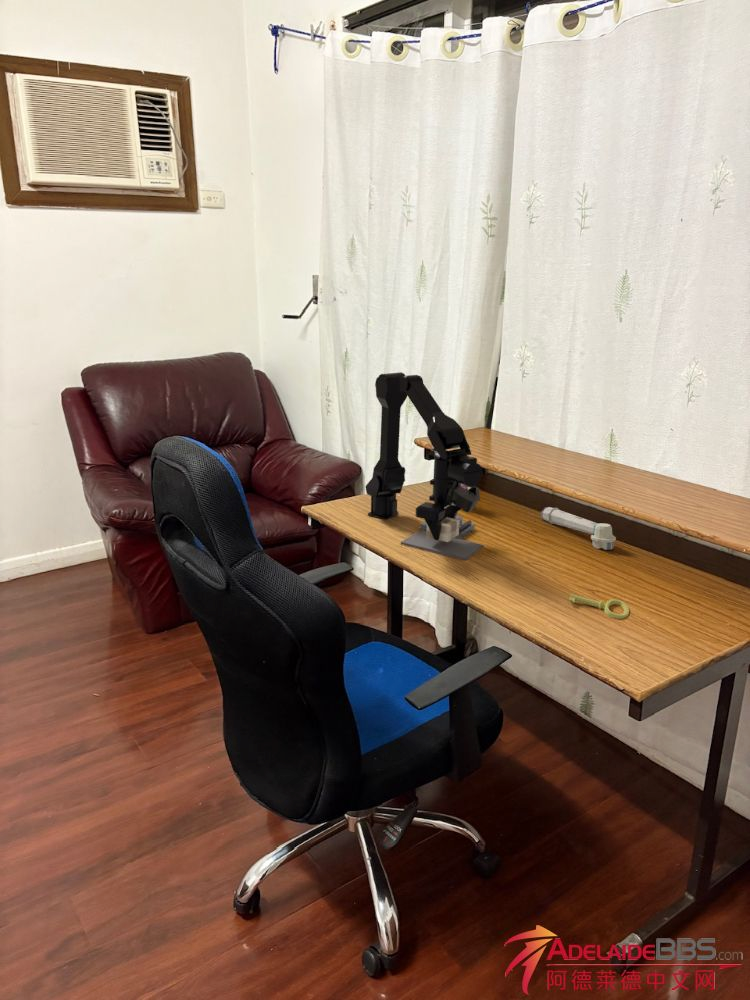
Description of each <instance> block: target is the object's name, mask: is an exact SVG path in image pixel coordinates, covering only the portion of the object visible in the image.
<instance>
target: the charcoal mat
mask: <svg viewBox="0 0 750 1000" xmlns="http://www.w3.org/2000/svg"><path fill="white" fill-rule="evenodd" d="M400 544H401V545H402V544H404V545H403V546H406V545H407V547H410V546H411V547H410V548H414V547H415V549H419V550H423V551H427V552H431V553H436V554H440V555H444V556H446V557H451V558H456V559H459V560H463V561H468V559H470V558H471V557H473V556H474V555H475V554H476V553H477V552H479V551H480V550H481V549H482V548H483V547H484V544H481V543H477V542H472V541H470V540H469V541H468V540H464V539H460V538H456V537H455V538H453V539H452V540H450V541H449V542H445V541H441V540H435V539H432V538H428V537H426V530H422V529H419V530H418V531H416V532H415V533H413V534H411V535H410V536H408V537H407V538H405V539H403V540H402V541H400Z"/></svg>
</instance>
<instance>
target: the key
mask: <svg viewBox="0 0 750 1000" xmlns="http://www.w3.org/2000/svg"><path fill="white" fill-rule="evenodd" d="M568 602H569V603H570V602H571V603H573V604H574V603H575V602H578V603H581V604H584V605H587V606H591V607H592V606H593V607H595V608H597V609H598V608H599V609H598V610H603V611H604V614H605V615H606V616H607V617H609V618H612V619H619V620H620V619H624V618H627V617H628V616H629V615H630V608H629V607H628V605H627V604H626V603H625V602H624V601H622V600H619V599H614V598H613V599H608V600H607V601H606V603H605V602H604V601H603V600H600V601H598V600H595V599H591V598H587V597H583V596H580V595H576V594H572V593H570V594H569V599H568ZM612 605H617V606H620V607H621V608H623V613H615V612H612V611H611V610H610V609H609V608H610V606H612Z"/></svg>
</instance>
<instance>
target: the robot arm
mask: <svg viewBox="0 0 750 1000" xmlns="http://www.w3.org/2000/svg"><path fill="white" fill-rule="evenodd" d="M374 385H375V386H374V387H375V396H376V399H377V400H378V402H379V404H380V406H381V422H380V440H379V441H380V447H379V459H378V461H377V462H376V464H375V466H374V467H373V471H372V478H371V479H369V481H368V482H367V484H366V485H365V492H366V493H365V494H367V495H369V496H370V512H368V513H367V516H370V517H375V518H379V519H382V520H389V519H391V518H392V517H394V516H396V515H398V514H399V511H398V499H397V494H401V493H402V489H403V486H404V483H405V482H406V479H405V478H406V477H405V475H406V467H404V466H402V464H401V462H400V460H399V452H400V451H399V450H400V448H399V447H400V428H401V427H400V425H401V410H402V408H401V407H402V406H403V405H404V403H405V401H406V400H407V398H408V399H409V400H410V402H411V404H412V405H413V407H414V408H415V410H416V411H417V413H418V414H419V416H420V417H421V418H422V420H423V421H424V423H425V425H426V427H427V429H426V432H427V433H426V435H427V437H428V440H429V442H430V444H431V446H432V447H433V449H431V450H430V451H429V452H428V455H430V456H433V457H434V459H433V460H434V461H433V478H432V479H430V480H429V485H432V495H431V494H430V495H429V501H431V502H427V501H425V502H423V503H421V504H419V505H418V506H416V508H415V514H414V515H415V517H416V518H419V519H423V520H424V521H426V523H427V525H428V527H429V529H430V531H431V533H432V536H433V538H434V539H435V540H439V536H440V531H441V525H442V521H443V520H444V519H446V518H447V517H449V518H454V519H455V517H456V515H457V514H458V512H459V511H460V510H462V511H463V512H465V513H470V512H471V511H472V510H474V509H476V506H477V504H478V502H479V501H481V498H480V497H481V494H480V488H479V487H478V486H477V485H479V484H480V482H481V481H482V479H483V474H484V471H483V468H482V466H481V465H480V464H479V463H478V458H477V457H474V456H470V455H472V451H471V449H470V448H471V446H470V444H469V443H468V440H467V437H466V435H465V432H464V429H463V428H462V426H461V425H460V424H459V423H458V422H457V421H456V419H454V418H452V417H451V416H448V415H447V414H445V412H443V410H442V408H441V407H440V405H439V404H438V403H437V401H436V399H435V398H434V397H433V396H432V393H431V392H430V391H429V390H428V388H427V387H426V385H425V384H424V379H423V377H422V375H421V376H420V375H419V374H411V375H405V373H404V372H399V371H398V372H391V373H390V372H389V373H381V374H379V375H378V377H376V379H375V384H374ZM461 484H463V485H466V486H468V487H470V489H469V490H467V489H468V488H463V487H461ZM432 502H433V503H432Z"/></svg>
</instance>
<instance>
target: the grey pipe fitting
mask: <svg viewBox="0 0 750 1000" xmlns="http://www.w3.org/2000/svg"><path fill="white" fill-rule="evenodd" d="M540 517H541V519H542V520H543V521H545V522H548V523H549V524H551V525H557V526H561V527H565V528H569V529H572V530H576V531H580V532H583V533H586V534H589V535H590V539H591V540H592V543H591V544H592V546H593V548H594V549H597V550H599V549H603V550H606V551H607V550H613V549H614V548H615V541H616V539H617V537H616V536H615V535H614V534H613V527H612V525H611V524H610V523H597V522H595V521H592V520H589V519H586V518H584V517H580V516H577V515H574V514H572V513H569V512H566V511H563V510H560V509H559V508H558V507H550V506H545V507H543V509H542V510H541V511H540Z"/></svg>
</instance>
